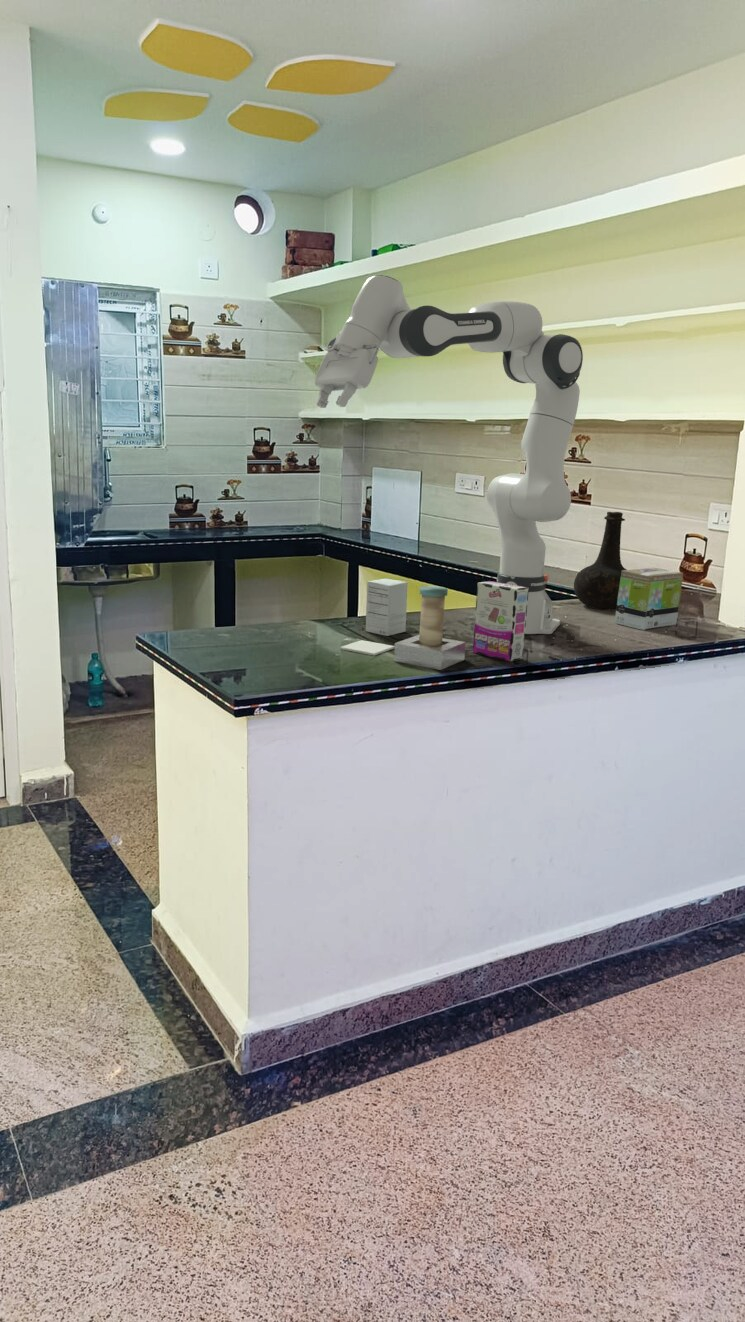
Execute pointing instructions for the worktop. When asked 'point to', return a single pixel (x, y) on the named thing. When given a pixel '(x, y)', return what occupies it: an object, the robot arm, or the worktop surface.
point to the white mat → (367, 647)
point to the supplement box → (386, 606)
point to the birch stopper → (432, 615)
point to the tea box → (648, 598)
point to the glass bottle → (603, 569)
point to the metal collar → (429, 653)
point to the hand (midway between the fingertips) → (330, 406)
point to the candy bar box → (500, 620)
